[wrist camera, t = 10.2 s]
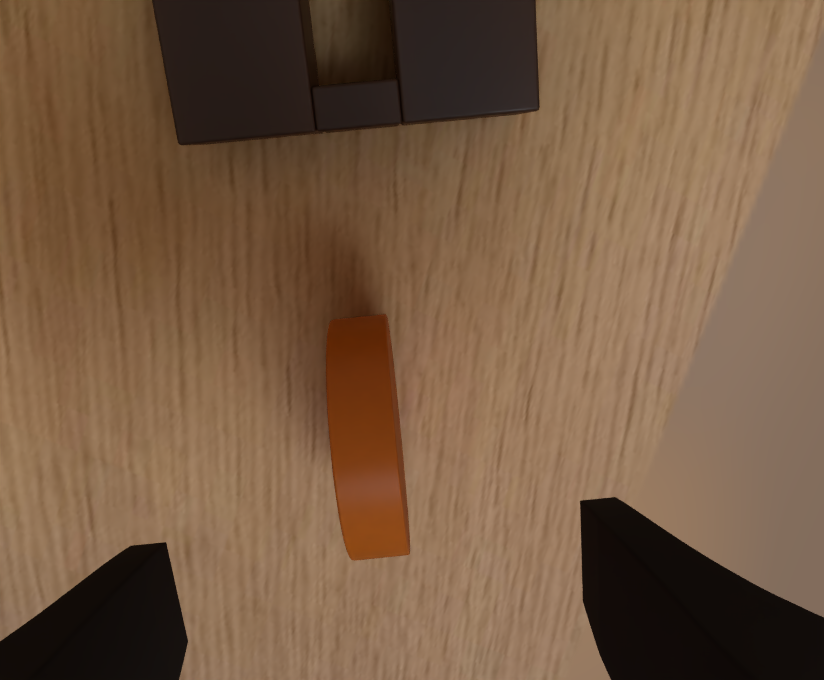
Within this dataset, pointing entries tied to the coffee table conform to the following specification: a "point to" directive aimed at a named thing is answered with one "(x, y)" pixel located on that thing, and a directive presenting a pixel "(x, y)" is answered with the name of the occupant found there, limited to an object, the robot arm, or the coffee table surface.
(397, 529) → the token
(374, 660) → the coffee table surface
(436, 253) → the coffee table surface
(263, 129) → the holder
